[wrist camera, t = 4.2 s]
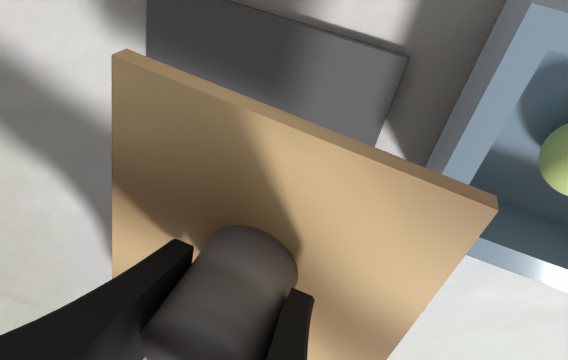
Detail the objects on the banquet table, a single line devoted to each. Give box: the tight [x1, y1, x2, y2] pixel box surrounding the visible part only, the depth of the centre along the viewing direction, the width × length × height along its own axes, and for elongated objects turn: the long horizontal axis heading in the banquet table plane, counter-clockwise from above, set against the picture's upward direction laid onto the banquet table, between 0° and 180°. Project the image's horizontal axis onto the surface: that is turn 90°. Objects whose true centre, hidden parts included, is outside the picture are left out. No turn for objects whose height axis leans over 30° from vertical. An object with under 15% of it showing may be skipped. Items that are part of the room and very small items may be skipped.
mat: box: [147, 0, 409, 147], centre depth 21 cm, size 12×12×1 cm
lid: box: [112, 49, 499, 360], centre depth 12 cm, size 10×10×4 cm
